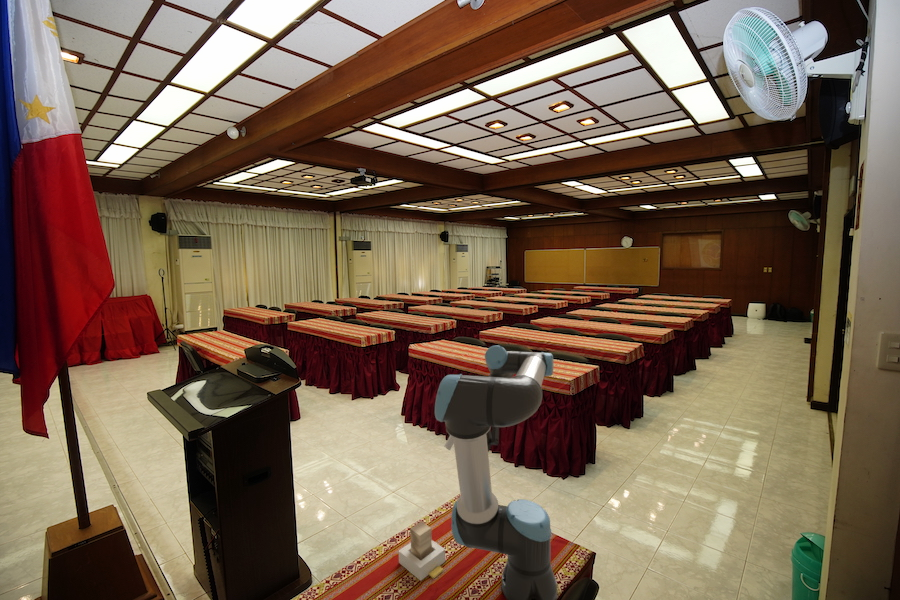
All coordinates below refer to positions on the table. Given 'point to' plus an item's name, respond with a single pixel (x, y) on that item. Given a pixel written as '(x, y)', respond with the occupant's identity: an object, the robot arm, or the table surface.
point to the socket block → (423, 561)
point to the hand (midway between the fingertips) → (461, 455)
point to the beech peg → (421, 540)
